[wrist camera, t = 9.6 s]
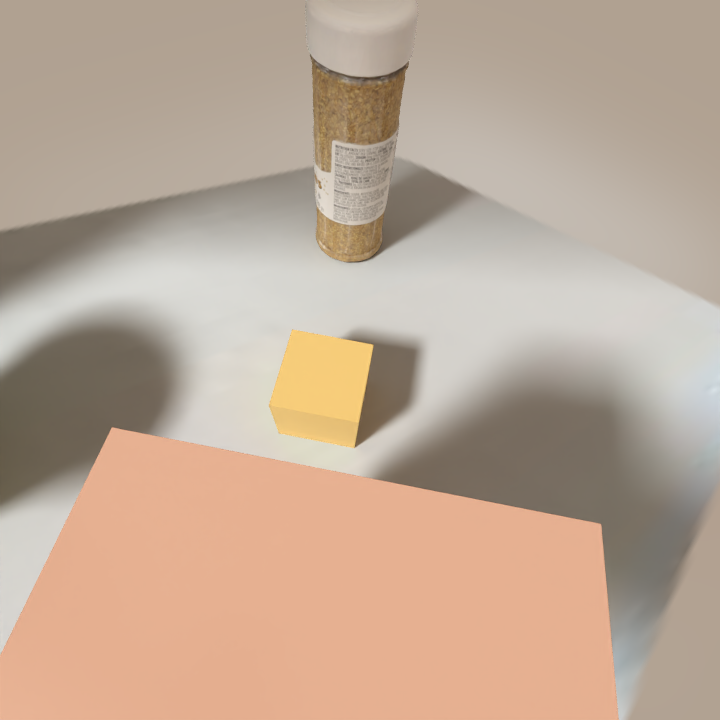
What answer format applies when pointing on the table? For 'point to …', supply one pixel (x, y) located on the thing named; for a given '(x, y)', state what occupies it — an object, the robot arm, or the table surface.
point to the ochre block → (321, 388)
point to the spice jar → (356, 115)
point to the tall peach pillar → (305, 600)
